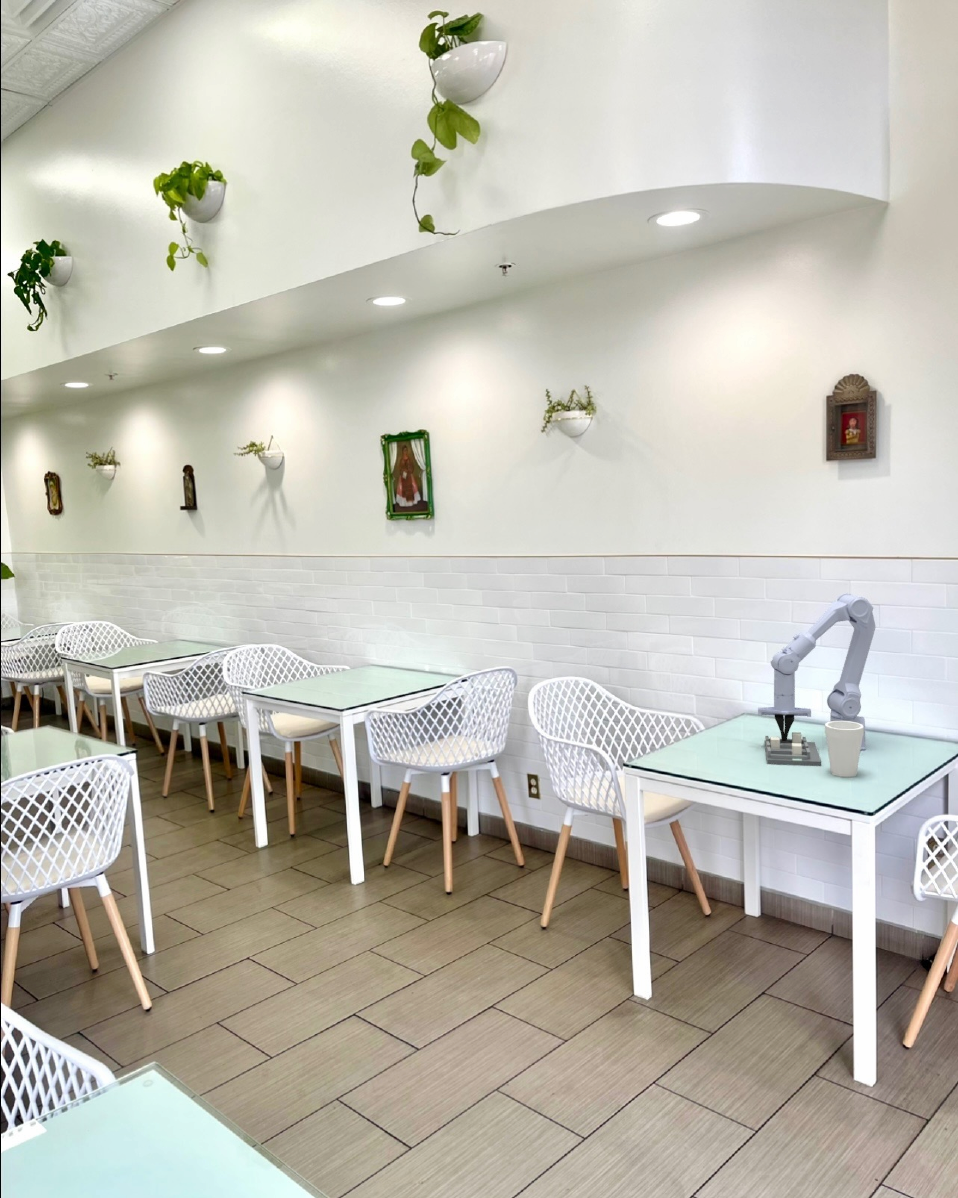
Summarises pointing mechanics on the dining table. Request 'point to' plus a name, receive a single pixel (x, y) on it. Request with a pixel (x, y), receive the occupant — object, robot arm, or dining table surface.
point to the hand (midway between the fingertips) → (784, 740)
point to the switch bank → (785, 753)
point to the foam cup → (844, 747)
